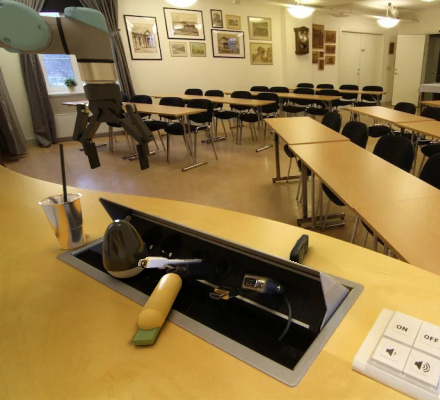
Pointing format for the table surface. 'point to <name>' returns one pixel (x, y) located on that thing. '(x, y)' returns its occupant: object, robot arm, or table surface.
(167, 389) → the table surface
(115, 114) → the robot arm
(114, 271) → the dark brown egg shape
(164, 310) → the corn cob
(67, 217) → the silver cup with straw
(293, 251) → the mobile phone
